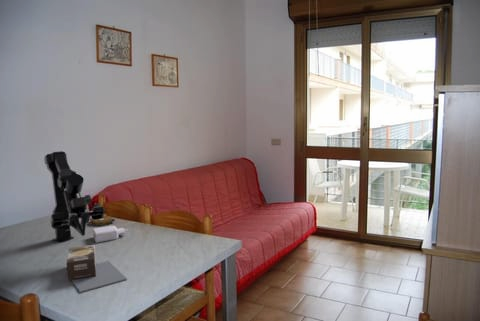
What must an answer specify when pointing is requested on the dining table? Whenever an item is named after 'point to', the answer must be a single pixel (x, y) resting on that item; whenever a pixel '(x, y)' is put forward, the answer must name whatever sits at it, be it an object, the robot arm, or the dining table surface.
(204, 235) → the dining table surface
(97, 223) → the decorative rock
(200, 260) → the dining table surface
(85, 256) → the coffee box
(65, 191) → the robot arm
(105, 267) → the mat
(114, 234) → the charger
